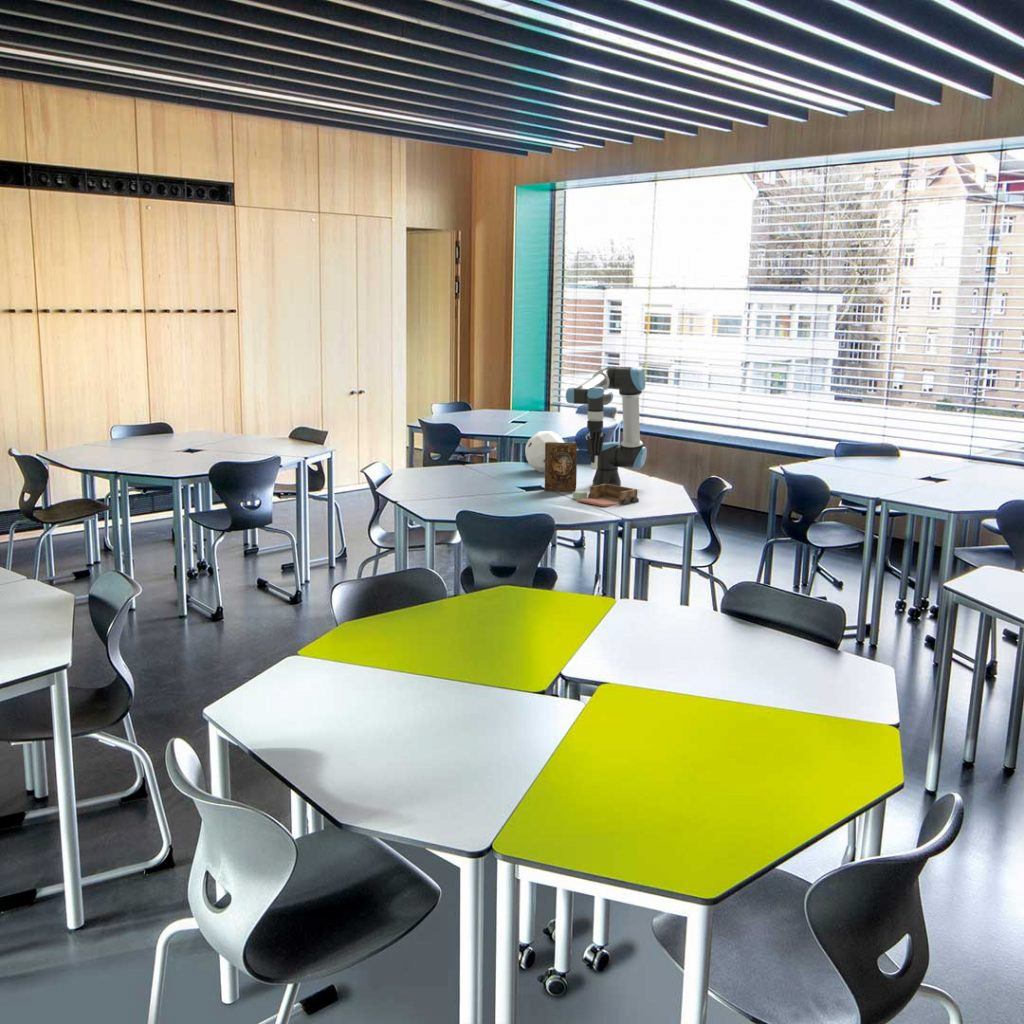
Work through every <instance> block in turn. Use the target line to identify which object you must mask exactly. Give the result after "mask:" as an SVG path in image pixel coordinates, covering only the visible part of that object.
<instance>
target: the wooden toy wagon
mask: <svg viewBox="0 0 1024 1024" xmlns="http://www.w3.org/2000/svg"><path fill="white" fill-rule="evenodd" d="M587 498H593V499H598V500H603V501H608V502H613V503H618V505H621V506H622V505H623V506H627V505H630V504H636V503H639V501H640V500H639V498H638V489H637V488H633V487H632V488H631V487H626V486H616V485H611V484H601V485H596V486H593V485H592V486H589V494H587Z"/></svg>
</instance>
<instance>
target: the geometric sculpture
mask: <svg viewBox="0 0 1024 1024" xmlns="http://www.w3.org/2000/svg"><path fill="white" fill-rule="evenodd" d="M547 442H555V443H565V441H564V440H563V438H562V437H561V435H559V434H558V433H556V432H554V431H553V430H546V431H544V430H542V431H540V430H539V431H537V432H536V433H535V434H533V436H532V437H530V438H529V439H528V440H527V442H526V445H525V446H524V447H525V449H524V454H525V459H526V460H527V462H528V464H529V466H530V467H531V468H532V469H534V470H536V471H537V472H539V473H540V472H543V473H545V443H547Z"/></svg>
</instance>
